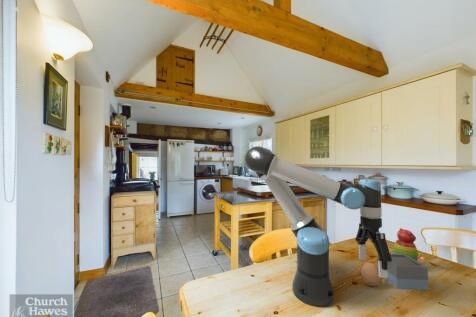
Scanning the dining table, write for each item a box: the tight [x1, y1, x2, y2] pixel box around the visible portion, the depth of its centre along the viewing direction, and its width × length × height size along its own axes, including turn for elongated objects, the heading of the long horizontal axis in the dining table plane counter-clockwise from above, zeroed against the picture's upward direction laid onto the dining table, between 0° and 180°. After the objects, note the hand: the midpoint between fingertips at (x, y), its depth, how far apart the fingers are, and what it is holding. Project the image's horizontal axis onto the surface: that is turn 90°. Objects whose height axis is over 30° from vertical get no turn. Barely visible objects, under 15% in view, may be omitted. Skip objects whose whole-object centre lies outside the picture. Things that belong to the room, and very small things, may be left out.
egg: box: [360, 262, 382, 287], centre depth 82 cm, size 7×7×9 cm
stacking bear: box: [392, 228, 419, 261], centre depth 98 cm, size 11×10×18 cm
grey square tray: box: [377, 252, 429, 291], centre depth 86 cm, size 12×12×9 cm
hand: (372, 267), depth 82 cm, fingers open, 13 cm apart
